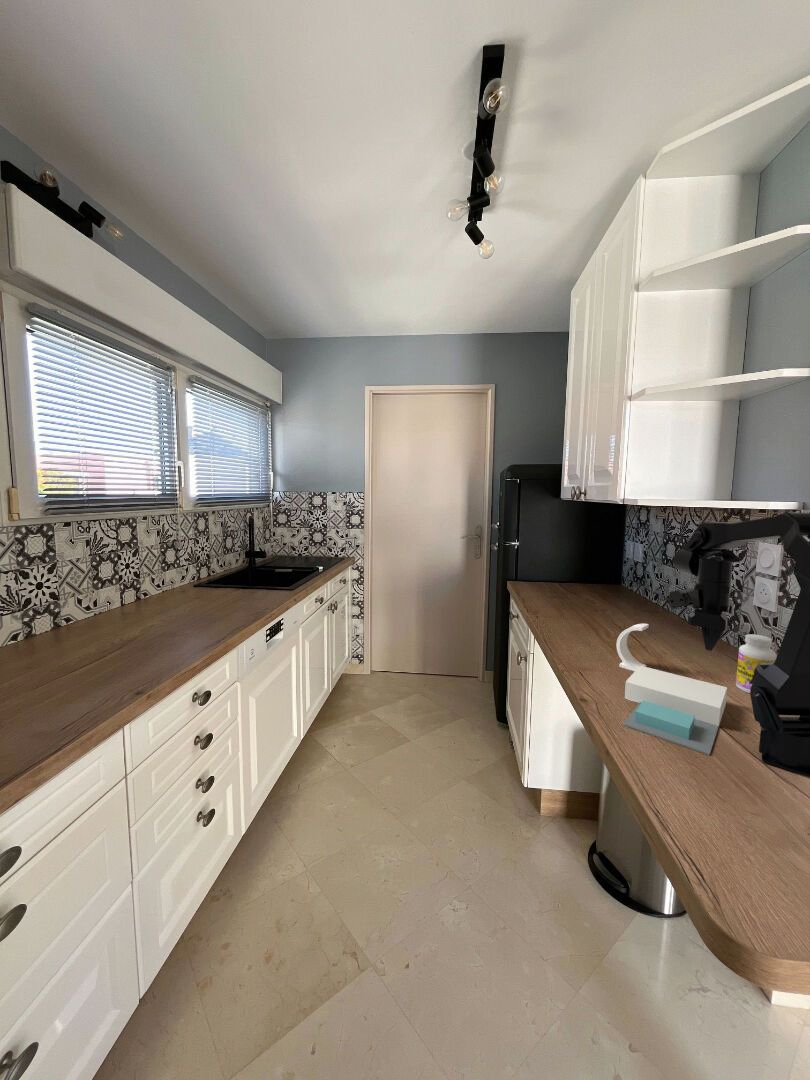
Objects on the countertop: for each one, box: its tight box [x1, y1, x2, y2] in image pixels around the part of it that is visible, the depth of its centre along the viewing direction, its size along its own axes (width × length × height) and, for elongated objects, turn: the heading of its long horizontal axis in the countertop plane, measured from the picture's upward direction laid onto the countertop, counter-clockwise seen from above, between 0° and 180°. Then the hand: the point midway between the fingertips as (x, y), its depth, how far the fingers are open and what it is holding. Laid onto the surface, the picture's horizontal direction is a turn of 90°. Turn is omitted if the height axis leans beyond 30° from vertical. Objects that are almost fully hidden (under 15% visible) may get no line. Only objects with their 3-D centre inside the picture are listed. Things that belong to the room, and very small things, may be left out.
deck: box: [624, 666, 728, 727], centre depth 91 cm, size 17×12×4 cm
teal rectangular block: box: [635, 701, 695, 740], centre depth 82 cm, size 9×6×2 cm, turn 47°
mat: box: [622, 702, 720, 756], centre depth 81 cm, size 14×12×1 cm
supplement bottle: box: [735, 633, 777, 694], centre depth 96 cm, size 7×7×13 cm
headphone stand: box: [615, 623, 650, 672], centre depth 109 cm, size 5×6×12 cm
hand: (708, 649), depth 90 cm, fingers closed
